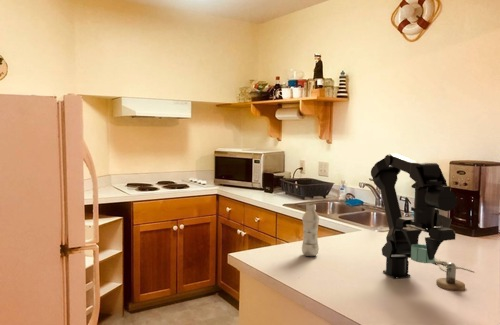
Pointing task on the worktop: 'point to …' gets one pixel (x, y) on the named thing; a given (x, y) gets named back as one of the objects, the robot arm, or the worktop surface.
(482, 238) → the worktop surface
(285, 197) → the worktop surface
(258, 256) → the worktop surface
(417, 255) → the ring
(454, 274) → the post stand
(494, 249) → the worktop surface
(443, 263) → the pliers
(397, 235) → the robot arm
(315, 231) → the plastic bottle
